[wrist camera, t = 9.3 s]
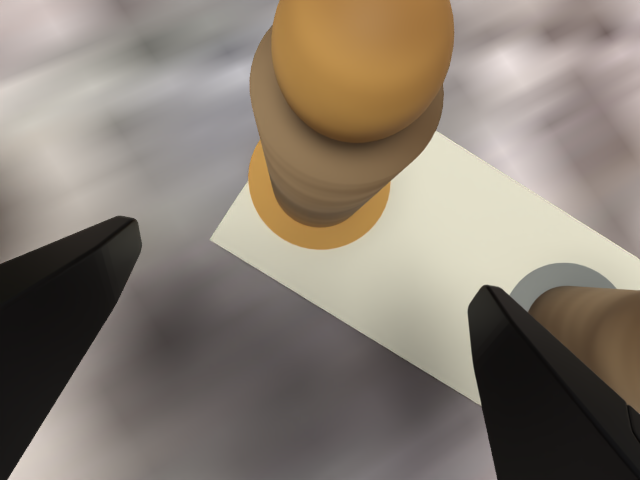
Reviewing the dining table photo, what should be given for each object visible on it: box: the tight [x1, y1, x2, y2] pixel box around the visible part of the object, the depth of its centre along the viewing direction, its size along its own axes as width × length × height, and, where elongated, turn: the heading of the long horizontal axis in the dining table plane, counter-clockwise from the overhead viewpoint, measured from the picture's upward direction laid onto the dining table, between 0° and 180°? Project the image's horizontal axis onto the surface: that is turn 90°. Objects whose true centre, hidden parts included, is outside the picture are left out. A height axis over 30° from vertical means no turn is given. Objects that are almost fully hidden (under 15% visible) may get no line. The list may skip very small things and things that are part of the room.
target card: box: [210, 131, 640, 406], centre depth 18 cm, size 11×22×1 cm, turn 58°
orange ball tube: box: [250, 0, 454, 228], centre depth 11 cm, size 5×5×12 cm
